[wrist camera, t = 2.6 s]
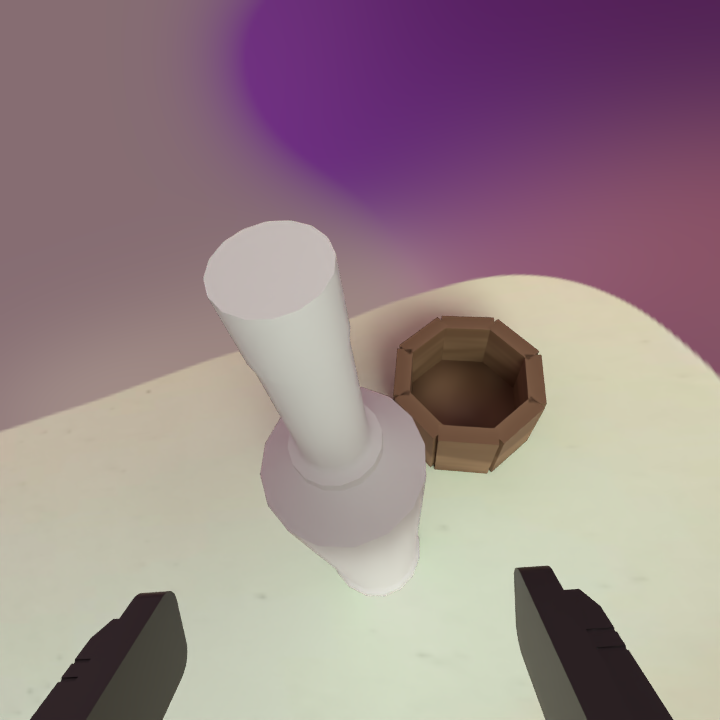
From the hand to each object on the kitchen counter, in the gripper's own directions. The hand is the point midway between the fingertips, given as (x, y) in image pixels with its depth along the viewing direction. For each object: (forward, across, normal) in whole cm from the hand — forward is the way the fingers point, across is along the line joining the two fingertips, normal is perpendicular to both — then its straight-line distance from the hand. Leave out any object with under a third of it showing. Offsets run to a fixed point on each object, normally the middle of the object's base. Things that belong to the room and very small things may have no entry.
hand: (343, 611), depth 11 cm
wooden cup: (+22, -6, +3) cm, 23 cm away
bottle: (+16, 0, +10) cm, 19 cm away
